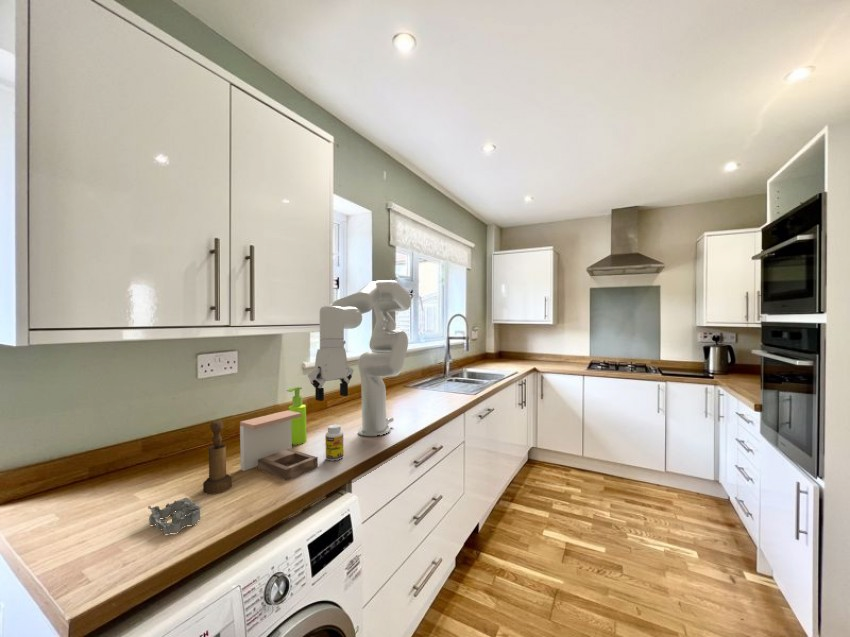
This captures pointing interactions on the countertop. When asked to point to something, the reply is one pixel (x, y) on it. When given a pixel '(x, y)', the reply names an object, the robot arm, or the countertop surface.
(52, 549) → the countertop surface
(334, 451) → the supplement bottle
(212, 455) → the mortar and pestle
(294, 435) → the soap dispenser
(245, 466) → the pink-topped white panel
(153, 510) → the egg carton
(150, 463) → the countertop surface
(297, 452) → the socket block
